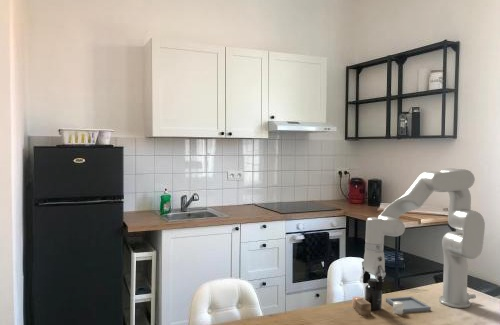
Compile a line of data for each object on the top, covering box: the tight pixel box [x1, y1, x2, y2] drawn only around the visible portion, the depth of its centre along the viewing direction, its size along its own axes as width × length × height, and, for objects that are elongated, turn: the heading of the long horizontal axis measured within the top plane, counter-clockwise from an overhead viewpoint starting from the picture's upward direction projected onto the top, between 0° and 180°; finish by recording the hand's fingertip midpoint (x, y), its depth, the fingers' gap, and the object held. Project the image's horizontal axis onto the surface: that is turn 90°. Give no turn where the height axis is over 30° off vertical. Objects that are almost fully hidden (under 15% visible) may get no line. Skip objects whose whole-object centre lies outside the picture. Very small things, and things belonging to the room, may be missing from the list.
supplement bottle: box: [364, 277, 383, 311], centre depth 173 cm, size 7×7×12 cm
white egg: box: [392, 301, 404, 315], centre depth 168 cm, size 4×4×4 cm
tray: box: [385, 295, 432, 314], centre depth 176 cm, size 13×13×2 cm
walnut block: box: [354, 299, 372, 316], centre depth 167 cm, size 4×4×4 cm
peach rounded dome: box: [352, 296, 364, 310], centre depth 173 cm, size 4×4×4 cm
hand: (372, 286), depth 173 cm, fingers open, 9 cm apart
